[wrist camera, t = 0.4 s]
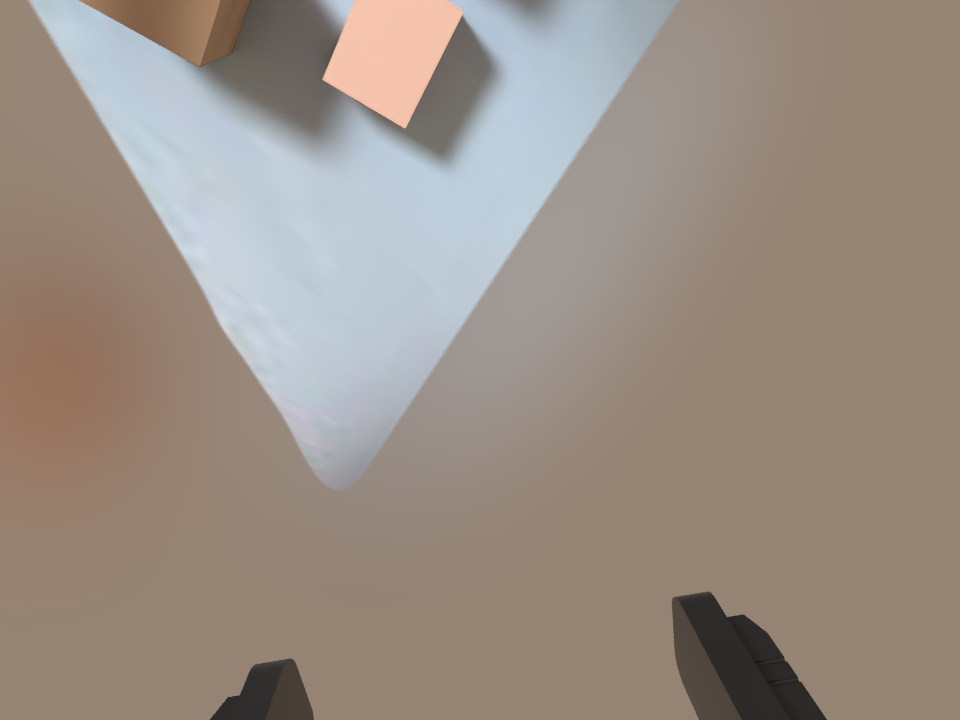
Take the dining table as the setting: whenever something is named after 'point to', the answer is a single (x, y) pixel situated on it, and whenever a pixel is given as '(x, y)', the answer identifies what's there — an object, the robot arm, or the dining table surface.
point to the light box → (391, 52)
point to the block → (182, 24)
